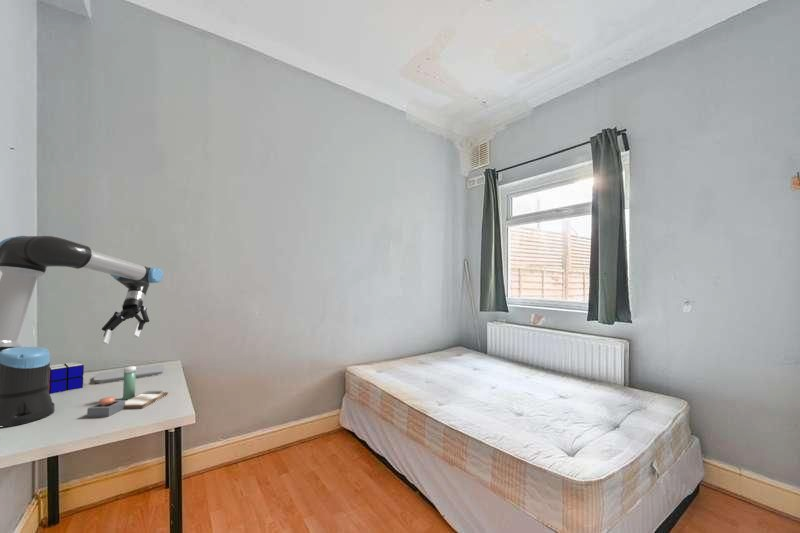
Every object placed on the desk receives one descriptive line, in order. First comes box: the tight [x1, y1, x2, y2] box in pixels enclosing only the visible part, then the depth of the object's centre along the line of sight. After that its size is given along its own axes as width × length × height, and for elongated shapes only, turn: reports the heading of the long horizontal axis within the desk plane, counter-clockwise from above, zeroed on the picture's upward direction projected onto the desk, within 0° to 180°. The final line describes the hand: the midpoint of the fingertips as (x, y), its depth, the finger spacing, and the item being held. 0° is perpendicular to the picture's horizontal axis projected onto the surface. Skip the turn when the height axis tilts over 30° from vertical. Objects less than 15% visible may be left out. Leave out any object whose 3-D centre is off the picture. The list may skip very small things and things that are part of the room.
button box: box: [86, 399, 126, 418], centre depth 113 cm, size 7×7×3 cm
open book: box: [123, 390, 169, 410], centre depth 123 cm, size 14×10×2 cm
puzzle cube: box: [48, 361, 85, 395], centre depth 138 cm, size 10×10×10 cm
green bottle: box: [122, 365, 137, 401], centre depth 127 cm, size 4×4×12 cm
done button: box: [98, 396, 116, 405], centre depth 113 cm, size 4×4×2 cm
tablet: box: [93, 364, 165, 385], centre depth 157 cm, size 16×26×2 cm, turn 130°
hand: (120, 339), depth 147 cm, fingers open, 13 cm apart
